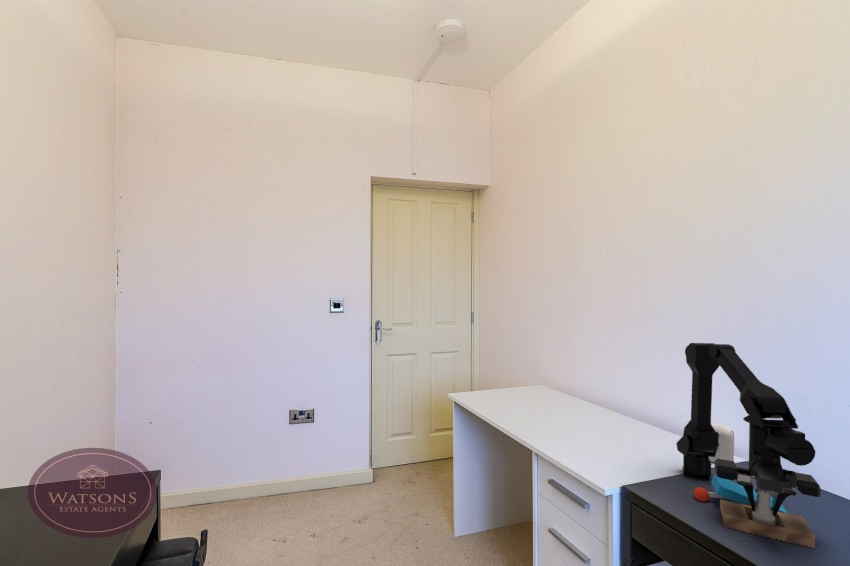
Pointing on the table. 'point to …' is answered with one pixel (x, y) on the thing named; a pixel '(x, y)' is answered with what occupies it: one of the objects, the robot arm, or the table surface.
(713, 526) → the table surface
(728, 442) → the photo printer
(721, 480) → the lever
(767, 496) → the rook chess piece
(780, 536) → the walnut socket board
